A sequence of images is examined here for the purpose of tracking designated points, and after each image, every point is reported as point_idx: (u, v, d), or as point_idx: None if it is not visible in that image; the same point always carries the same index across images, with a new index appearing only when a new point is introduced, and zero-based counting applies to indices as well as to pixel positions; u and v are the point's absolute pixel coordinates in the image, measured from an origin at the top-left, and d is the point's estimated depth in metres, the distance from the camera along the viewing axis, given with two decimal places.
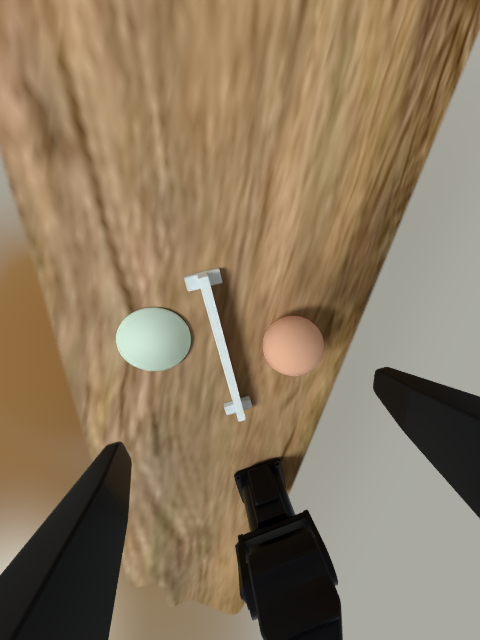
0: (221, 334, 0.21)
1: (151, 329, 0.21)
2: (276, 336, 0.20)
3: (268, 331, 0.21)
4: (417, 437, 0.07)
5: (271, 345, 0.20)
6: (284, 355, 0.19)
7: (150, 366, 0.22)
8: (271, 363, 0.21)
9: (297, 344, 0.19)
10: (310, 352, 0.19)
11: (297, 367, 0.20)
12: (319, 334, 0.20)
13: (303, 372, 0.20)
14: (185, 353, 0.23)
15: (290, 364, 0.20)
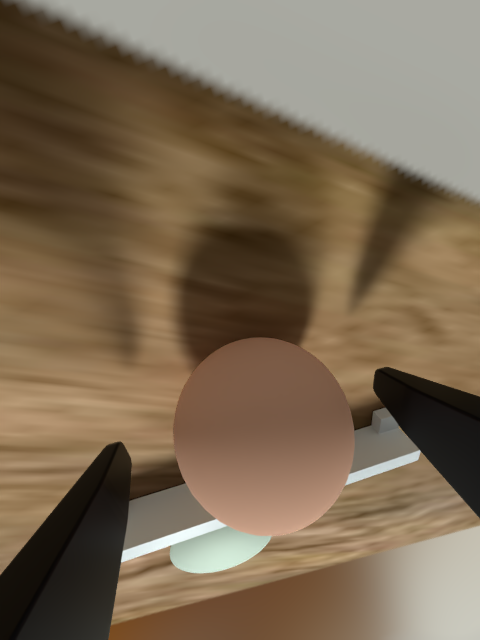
0: (212, 522, 0.11)
1: (204, 549, 0.14)
2: None
3: None
4: (417, 437, 0.07)
5: None
6: None
7: (263, 540, 0.15)
8: None
9: (228, 523, 0.06)
10: (262, 508, 0.05)
11: (312, 521, 0.06)
12: (217, 419, 0.05)
13: (341, 486, 0.06)
14: None
15: None
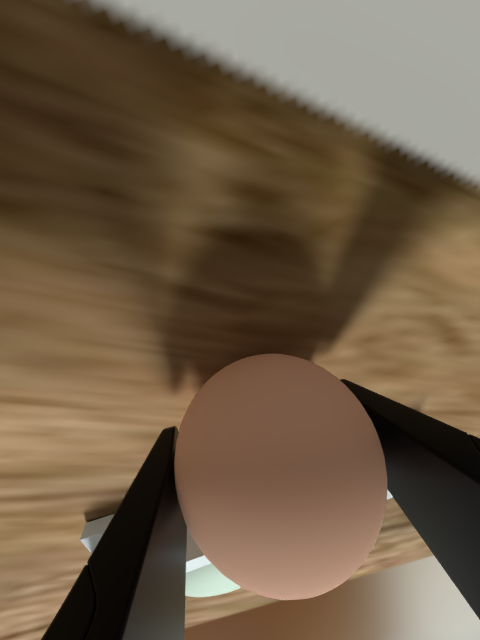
0: None
1: (206, 573, 0.13)
2: None
3: None
4: None
5: None
6: None
7: None
8: None
9: (241, 586, 0.05)
10: (284, 575, 0.04)
11: None
12: (228, 461, 0.05)
13: (375, 539, 0.05)
14: None
15: None
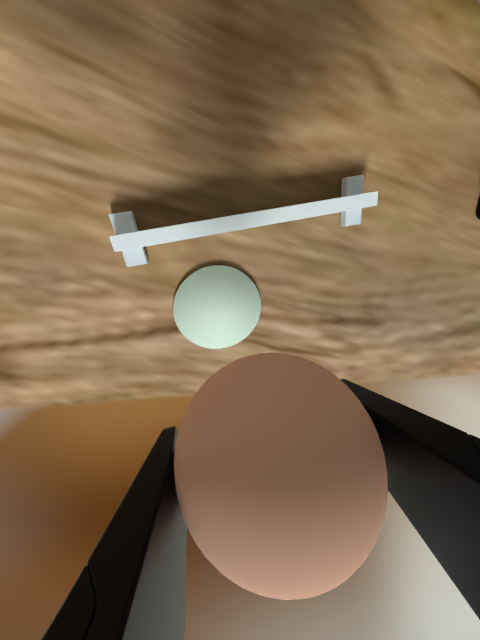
0: (207, 222, 0.13)
1: (201, 312, 0.17)
2: None
3: None
4: None
5: None
6: None
7: (252, 318, 0.18)
8: None
9: (241, 586, 0.05)
10: (285, 574, 0.04)
11: None
12: (227, 461, 0.04)
13: (376, 538, 0.05)
14: (241, 275, 0.17)
15: None
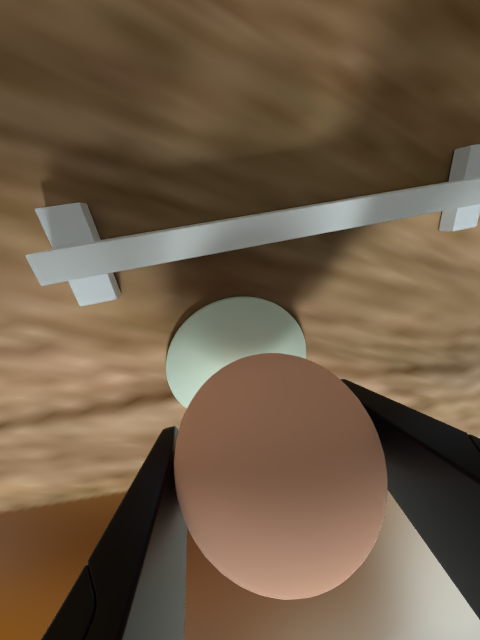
0: (231, 226, 0.07)
1: (213, 370, 0.10)
2: None
3: None
4: None
5: None
6: None
7: None
8: None
9: (241, 585, 0.05)
10: (285, 574, 0.04)
11: None
12: (227, 460, 0.04)
13: (376, 538, 0.05)
14: (279, 312, 0.10)
15: None
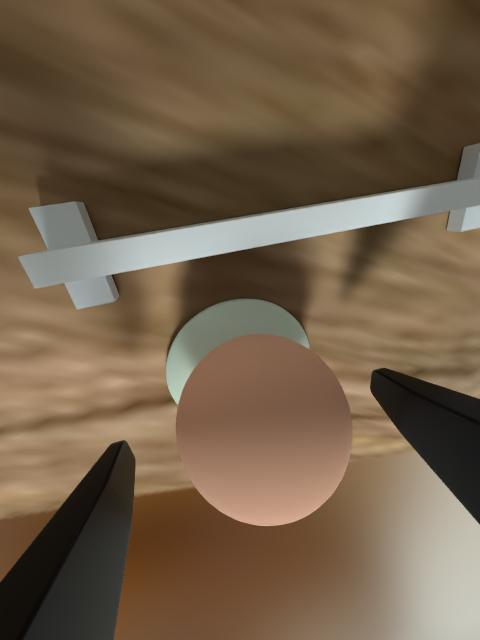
0: (234, 226, 0.06)
1: None
2: None
3: None
4: (413, 438, 0.07)
5: None
6: None
7: None
8: None
9: (230, 513, 0.06)
10: (264, 496, 0.05)
11: (312, 510, 0.06)
12: (219, 411, 0.06)
13: (340, 476, 0.06)
14: (282, 315, 0.10)
15: (296, 519, 0.06)
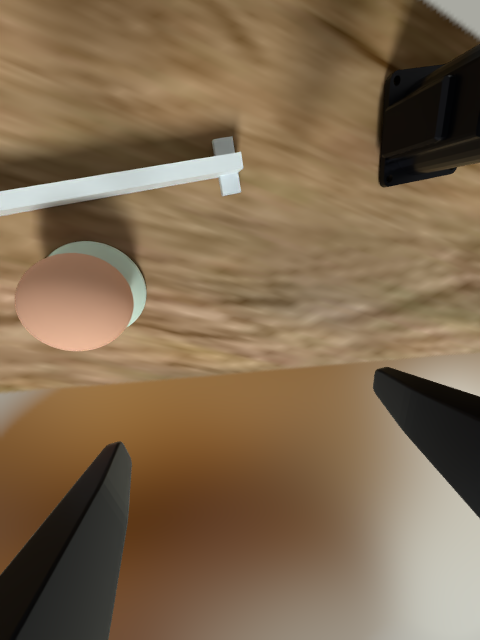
0: (39, 188, 0.12)
1: None
2: None
3: None
4: (417, 437, 0.07)
5: None
6: (64, 346, 0.12)
7: (138, 299, 0.17)
8: (103, 345, 0.14)
9: (34, 331, 0.11)
10: (39, 313, 0.11)
11: (78, 330, 0.12)
12: (24, 278, 0.11)
13: (94, 313, 0.12)
14: (113, 252, 0.15)
15: (76, 340, 0.12)
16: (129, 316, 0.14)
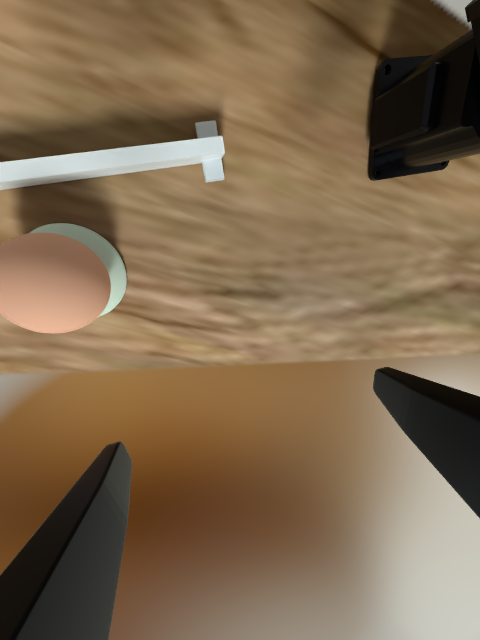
0: (12, 164, 0.12)
1: None
2: None
3: None
4: (417, 437, 0.07)
5: None
6: (34, 327, 0.12)
7: (118, 285, 0.17)
8: (77, 328, 0.14)
9: (2, 310, 0.11)
10: (6, 291, 0.11)
11: (48, 310, 0.11)
12: None
13: (65, 294, 0.11)
14: (92, 235, 0.15)
15: (46, 320, 0.12)
16: (105, 300, 0.14)
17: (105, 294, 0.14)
